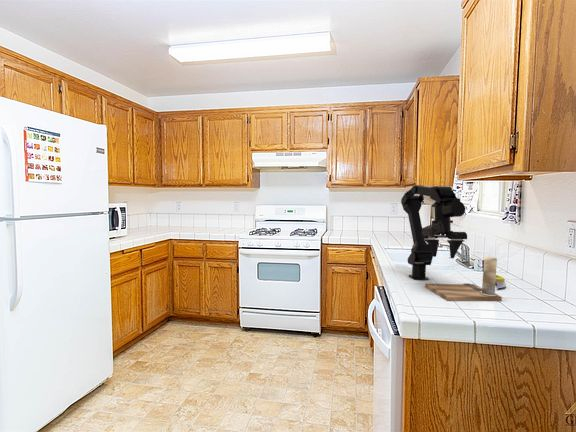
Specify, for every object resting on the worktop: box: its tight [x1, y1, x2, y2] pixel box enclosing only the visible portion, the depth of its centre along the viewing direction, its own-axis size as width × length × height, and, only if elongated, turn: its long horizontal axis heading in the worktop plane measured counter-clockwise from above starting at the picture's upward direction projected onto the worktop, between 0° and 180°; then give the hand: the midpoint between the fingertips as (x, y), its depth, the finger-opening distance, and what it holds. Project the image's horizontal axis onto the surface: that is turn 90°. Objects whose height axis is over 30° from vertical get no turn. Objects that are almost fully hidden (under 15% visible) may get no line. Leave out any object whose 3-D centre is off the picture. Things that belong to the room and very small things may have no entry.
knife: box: [495, 274, 507, 289], centre depth 146 cm, size 8×3×25 cm
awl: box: [481, 256, 498, 295], centre depth 124 cm, size 4×4×13 cm
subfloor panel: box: [424, 283, 503, 302], centre depth 129 cm, size 17×20×2 cm
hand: (443, 257), depth 134 cm, fingers open, 9 cm apart
